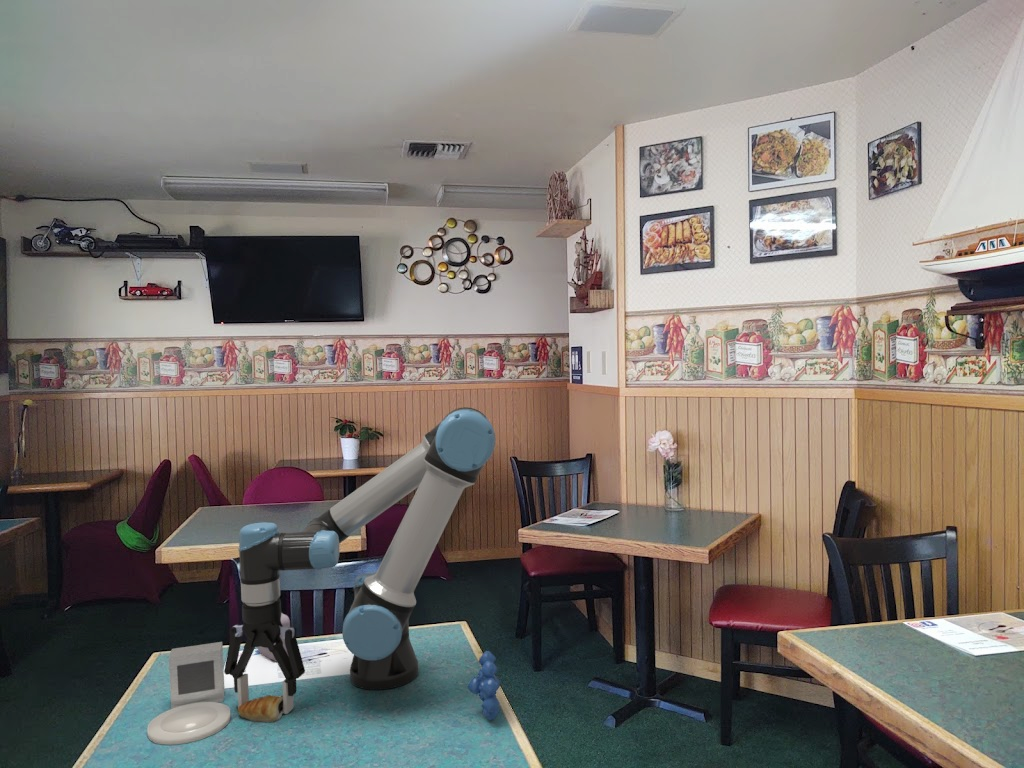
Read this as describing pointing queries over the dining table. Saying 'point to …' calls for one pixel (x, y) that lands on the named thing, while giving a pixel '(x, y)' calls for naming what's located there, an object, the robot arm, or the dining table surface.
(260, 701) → the pastry
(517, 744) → the dining table surface
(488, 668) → the grapes
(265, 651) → the electronic device
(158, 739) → the plate
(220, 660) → the picture frame
